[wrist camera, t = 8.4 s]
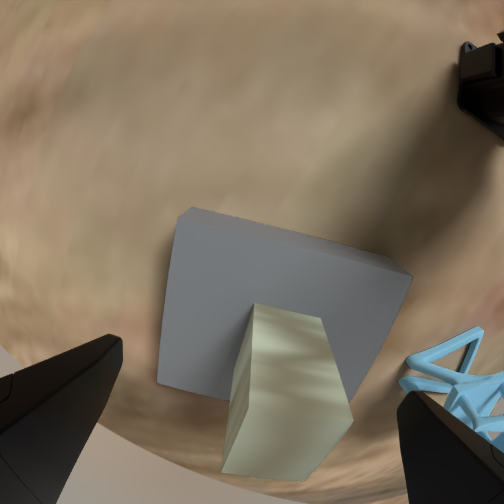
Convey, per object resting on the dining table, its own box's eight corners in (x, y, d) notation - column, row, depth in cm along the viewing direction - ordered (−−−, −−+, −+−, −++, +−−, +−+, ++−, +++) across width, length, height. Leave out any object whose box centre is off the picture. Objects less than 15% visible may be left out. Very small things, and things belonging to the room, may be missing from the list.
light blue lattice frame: (413, 334, 21) (482, 438, 10) (480, 325, 21) (551, 401, 9) (390, 399, 23) (429, 498, 12) (454, 386, 23) (503, 465, 12)
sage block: (320, 318, 17) (354, 421, 9) (293, 379, 18) (304, 481, 11) (254, 302, 17) (248, 408, 9) (234, 368, 18) (221, 472, 10)
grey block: (389, 255, 20) (413, 276, 16) (332, 383, 23) (341, 415, 19) (194, 205, 19) (177, 217, 15) (170, 351, 23) (156, 382, 19)
